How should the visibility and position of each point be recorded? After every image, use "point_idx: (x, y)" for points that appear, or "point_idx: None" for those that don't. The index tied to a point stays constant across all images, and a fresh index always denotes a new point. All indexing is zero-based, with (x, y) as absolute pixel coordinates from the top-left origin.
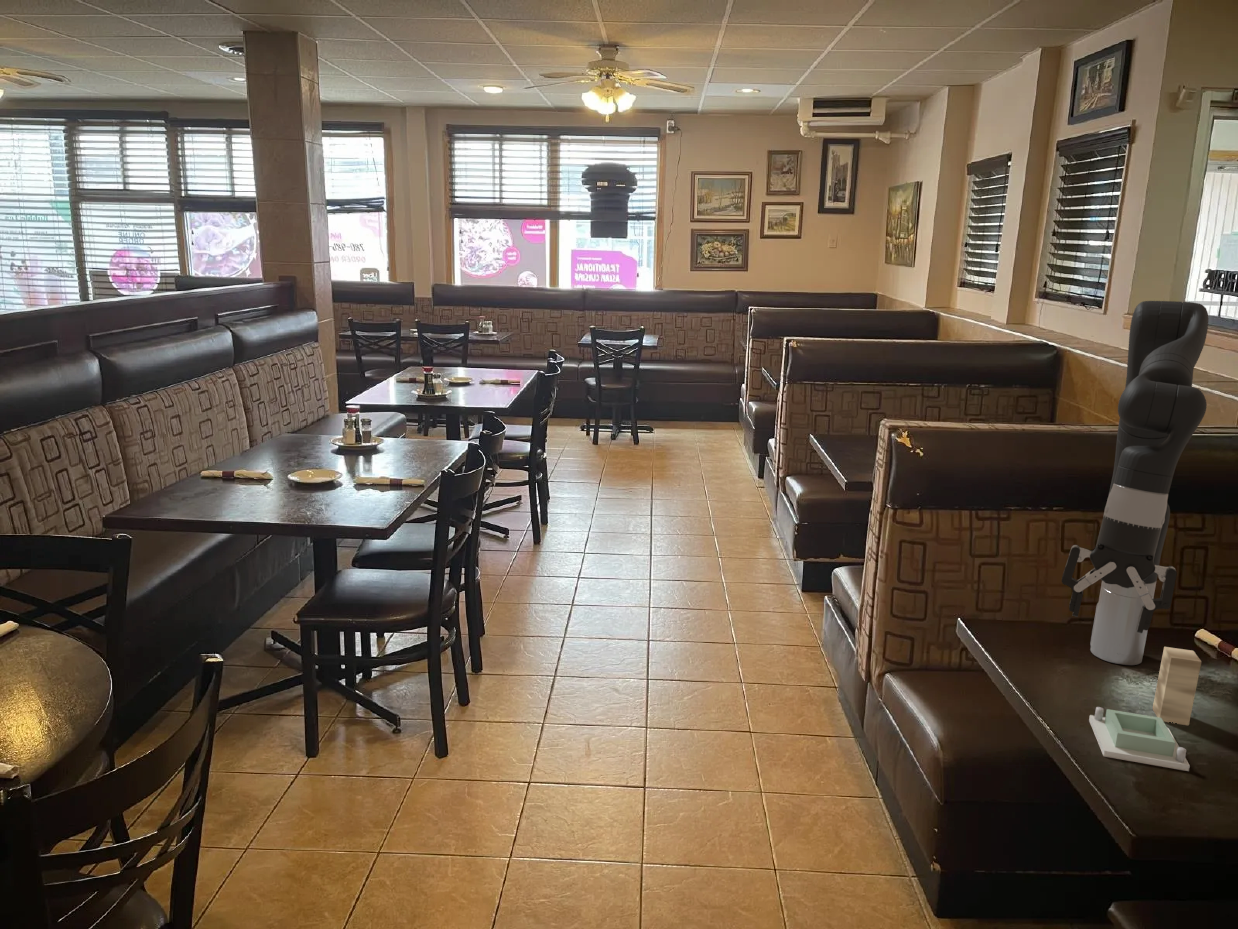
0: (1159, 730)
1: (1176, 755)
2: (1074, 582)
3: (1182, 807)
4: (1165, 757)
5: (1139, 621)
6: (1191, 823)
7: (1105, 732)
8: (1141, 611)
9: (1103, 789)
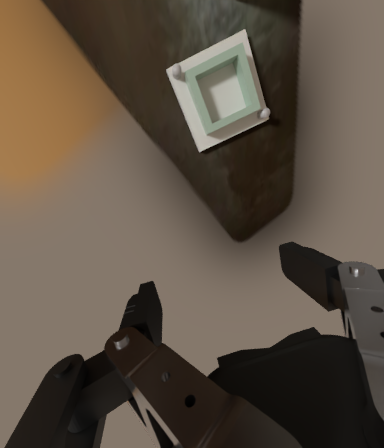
0: (242, 76)
1: (259, 116)
2: (116, 400)
3: (264, 189)
4: (248, 119)
5: (299, 282)
6: (270, 207)
7: (191, 106)
8: (315, 281)
9: (210, 207)
